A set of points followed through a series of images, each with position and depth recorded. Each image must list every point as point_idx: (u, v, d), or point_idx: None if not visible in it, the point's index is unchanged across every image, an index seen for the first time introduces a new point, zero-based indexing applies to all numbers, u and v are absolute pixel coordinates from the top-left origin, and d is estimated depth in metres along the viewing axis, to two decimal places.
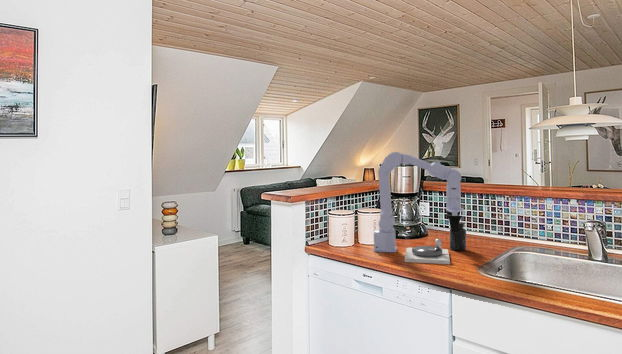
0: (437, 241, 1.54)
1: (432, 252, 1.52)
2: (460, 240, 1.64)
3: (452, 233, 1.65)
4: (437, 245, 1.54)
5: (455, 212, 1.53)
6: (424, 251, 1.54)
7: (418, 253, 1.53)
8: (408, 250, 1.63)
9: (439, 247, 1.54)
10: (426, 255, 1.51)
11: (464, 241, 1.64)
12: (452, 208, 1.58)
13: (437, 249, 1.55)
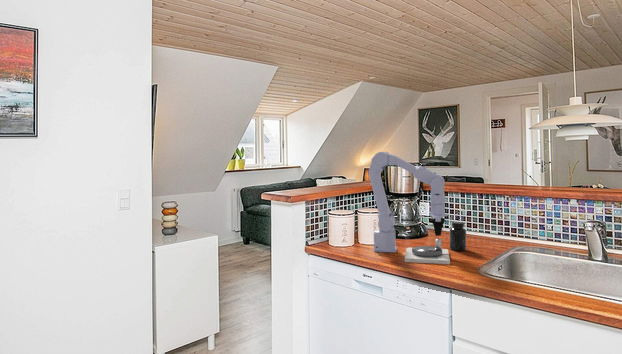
0: (437, 241, 1.54)
1: (432, 252, 1.52)
2: (460, 240, 1.64)
3: (452, 233, 1.65)
4: (437, 245, 1.54)
5: (438, 218, 1.54)
6: (424, 251, 1.54)
7: (418, 253, 1.53)
8: (408, 250, 1.63)
9: (439, 247, 1.54)
10: (426, 255, 1.51)
11: (464, 241, 1.64)
12: (436, 214, 1.58)
13: (437, 249, 1.55)
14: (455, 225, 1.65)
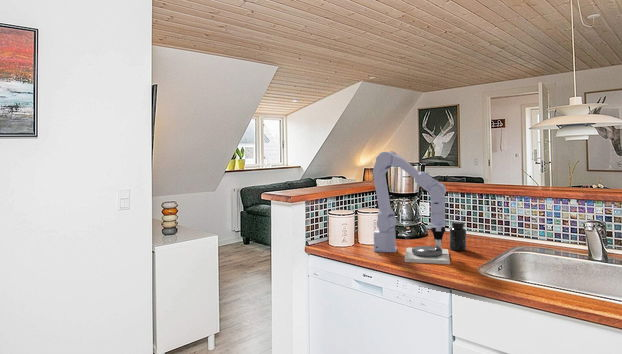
0: (437, 241, 1.54)
1: (432, 252, 1.52)
2: (460, 240, 1.64)
3: (452, 233, 1.65)
4: (437, 245, 1.54)
5: (439, 227, 1.50)
6: (424, 251, 1.54)
7: (418, 253, 1.53)
8: (408, 250, 1.63)
9: (439, 247, 1.54)
10: (426, 255, 1.51)
11: (464, 241, 1.64)
12: (436, 223, 1.55)
13: (437, 249, 1.55)
14: (455, 225, 1.65)
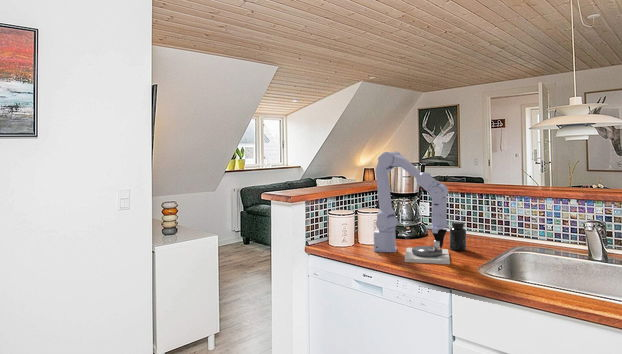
0: (434, 242, 1.53)
1: (426, 252, 1.52)
2: (460, 240, 1.64)
3: (452, 233, 1.65)
4: (434, 246, 1.53)
5: (435, 229, 1.48)
6: (420, 250, 1.55)
7: (413, 251, 1.56)
8: (408, 250, 1.63)
9: (436, 248, 1.52)
10: (418, 254, 1.53)
11: (464, 241, 1.64)
12: (435, 225, 1.52)
13: (434, 250, 1.53)
14: (455, 225, 1.65)
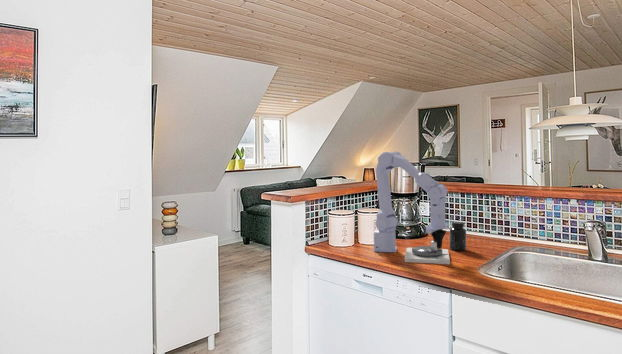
0: (431, 242, 1.52)
1: (421, 252, 1.53)
2: (460, 240, 1.64)
3: (452, 233, 1.65)
4: (431, 246, 1.52)
5: (428, 229, 1.48)
6: (418, 249, 1.57)
7: (412, 250, 1.58)
8: (408, 250, 1.63)
9: (432, 249, 1.52)
10: (414, 253, 1.55)
11: (464, 241, 1.64)
12: (432, 225, 1.51)
13: (431, 251, 1.53)
14: (455, 225, 1.65)
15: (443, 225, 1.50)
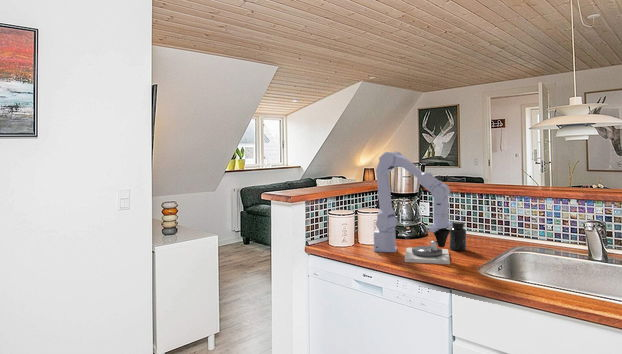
0: (431, 242, 1.52)
1: (421, 252, 1.53)
2: (460, 240, 1.64)
3: (452, 233, 1.65)
4: (431, 246, 1.52)
5: (432, 228, 1.49)
6: (418, 249, 1.57)
7: (412, 250, 1.58)
8: (408, 250, 1.63)
9: (432, 249, 1.52)
10: (414, 253, 1.55)
11: (464, 241, 1.64)
12: (436, 224, 1.53)
13: (431, 251, 1.53)
14: (455, 225, 1.65)
15: (446, 224, 1.51)
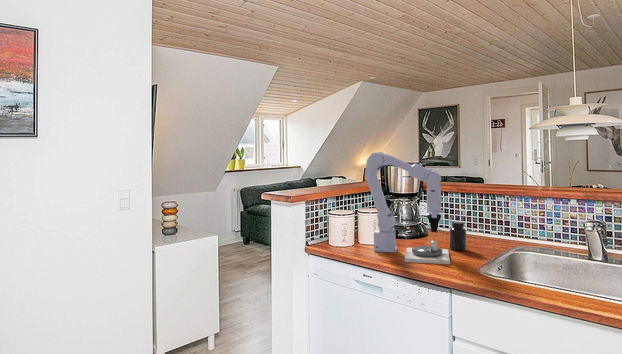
0: (431, 242, 1.52)
1: (421, 252, 1.53)
2: (460, 240, 1.64)
3: (452, 233, 1.65)
4: (431, 246, 1.52)
5: (434, 214, 1.54)
6: (418, 249, 1.57)
7: (412, 250, 1.58)
8: (408, 250, 1.63)
9: (432, 249, 1.52)
10: (414, 253, 1.55)
11: (464, 241, 1.64)
12: (432, 210, 1.58)
13: (431, 251, 1.53)
14: (455, 225, 1.65)
15: (440, 209, 1.59)
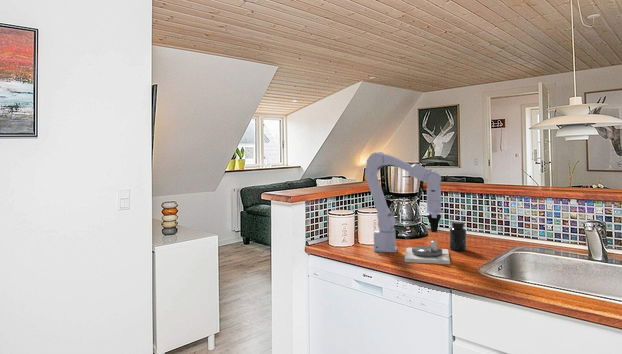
0: (431, 242, 1.52)
1: (421, 252, 1.53)
2: (460, 240, 1.64)
3: (452, 233, 1.65)
4: (431, 246, 1.52)
5: (434, 214, 1.54)
6: (418, 249, 1.57)
7: (412, 250, 1.58)
8: (408, 250, 1.63)
9: (432, 249, 1.52)
10: (414, 253, 1.55)
11: (464, 241, 1.64)
12: (432, 210, 1.58)
13: (431, 251, 1.53)
14: (455, 225, 1.65)
15: (440, 209, 1.59)
